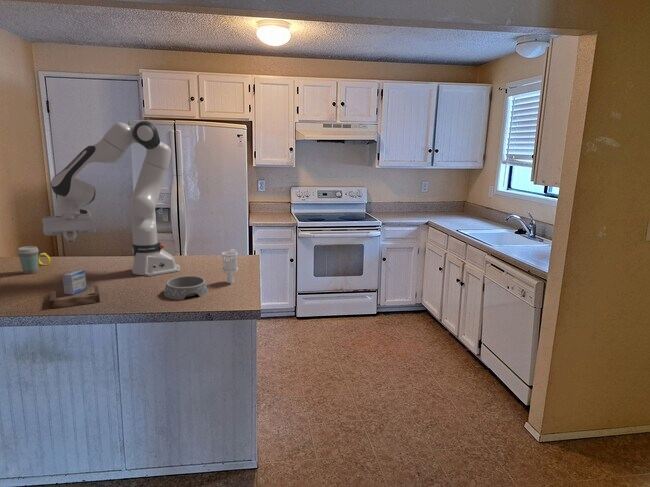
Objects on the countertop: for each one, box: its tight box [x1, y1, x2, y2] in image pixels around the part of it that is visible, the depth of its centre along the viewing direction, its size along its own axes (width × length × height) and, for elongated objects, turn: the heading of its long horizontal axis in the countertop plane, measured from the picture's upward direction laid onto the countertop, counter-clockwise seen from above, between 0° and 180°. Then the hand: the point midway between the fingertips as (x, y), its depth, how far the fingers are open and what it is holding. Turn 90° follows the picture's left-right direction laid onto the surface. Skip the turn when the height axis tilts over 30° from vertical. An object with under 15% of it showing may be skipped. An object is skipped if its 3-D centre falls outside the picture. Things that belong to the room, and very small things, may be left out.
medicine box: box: [62, 269, 88, 296], centre depth 189 cm, size 8×4×9 cm, turn 168°
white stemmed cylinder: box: [221, 248, 239, 284], centre depth 205 cm, size 7×7×15 cm
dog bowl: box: [163, 275, 209, 301], centre depth 192 cm, size 17×18×5 cm
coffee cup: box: [17, 245, 40, 275], centre depth 213 cm, size 9×9×12 cm
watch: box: [38, 252, 52, 266], centre depth 226 cm, size 6×3×6 cm, turn 87°
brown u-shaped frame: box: [49, 285, 101, 310], centre depth 180 cm, size 17×12×3 cm
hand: (70, 241), depth 196 cm, fingers closed
